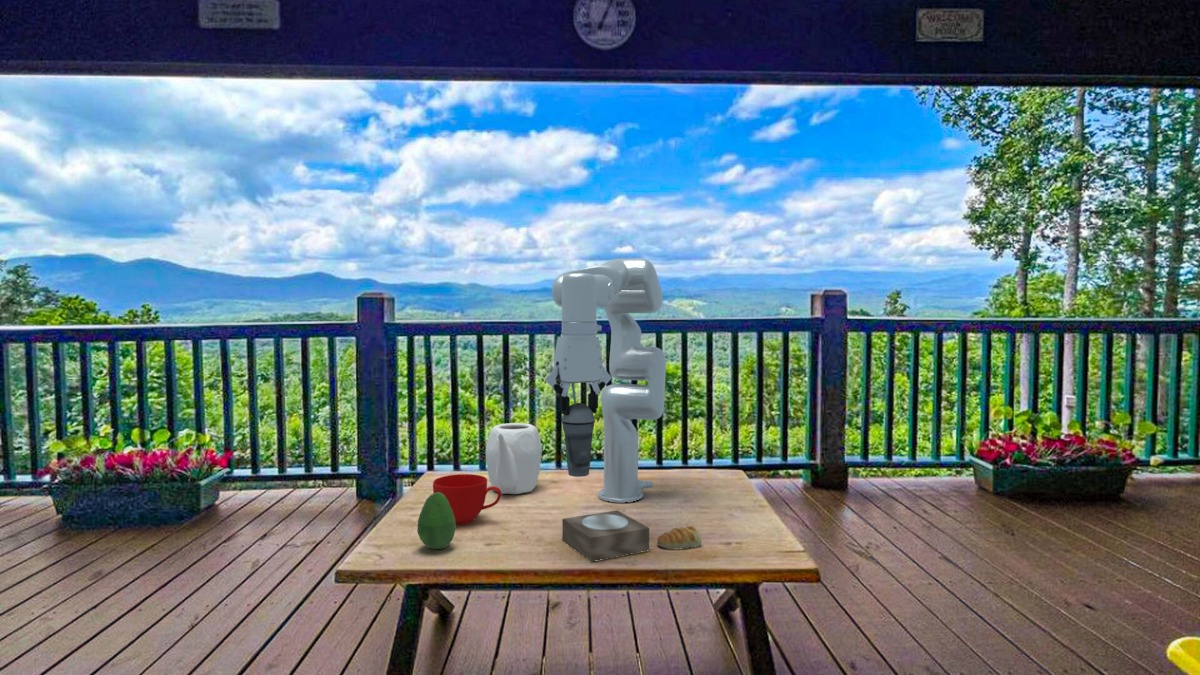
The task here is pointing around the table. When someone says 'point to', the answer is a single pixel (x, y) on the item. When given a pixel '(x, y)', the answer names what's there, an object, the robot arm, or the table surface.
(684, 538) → the pastry
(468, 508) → the ceramic cup
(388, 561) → the table surface
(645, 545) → the walnut stand
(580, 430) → the beverage cup
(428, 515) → the fruit
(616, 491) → the robot arm
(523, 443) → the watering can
